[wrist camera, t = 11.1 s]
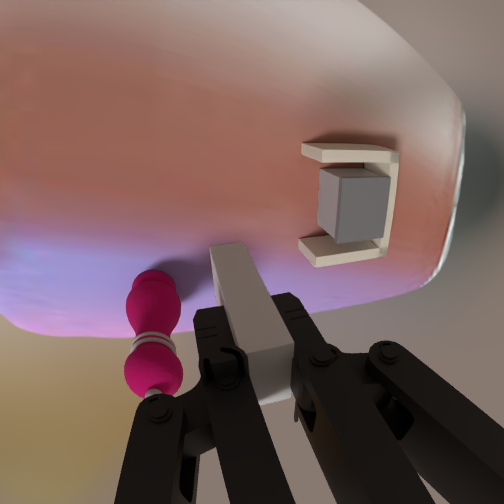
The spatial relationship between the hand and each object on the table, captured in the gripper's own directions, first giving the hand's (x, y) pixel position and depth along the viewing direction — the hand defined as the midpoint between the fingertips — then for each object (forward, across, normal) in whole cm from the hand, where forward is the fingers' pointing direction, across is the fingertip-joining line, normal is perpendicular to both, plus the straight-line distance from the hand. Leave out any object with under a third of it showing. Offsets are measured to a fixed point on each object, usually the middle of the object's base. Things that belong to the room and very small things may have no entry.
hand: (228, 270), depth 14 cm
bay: (+25, +19, -6) cm, 32 cm away
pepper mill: (+25, -8, -16) cm, 31 cm away
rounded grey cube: (+26, +20, -6) cm, 33 cm away
